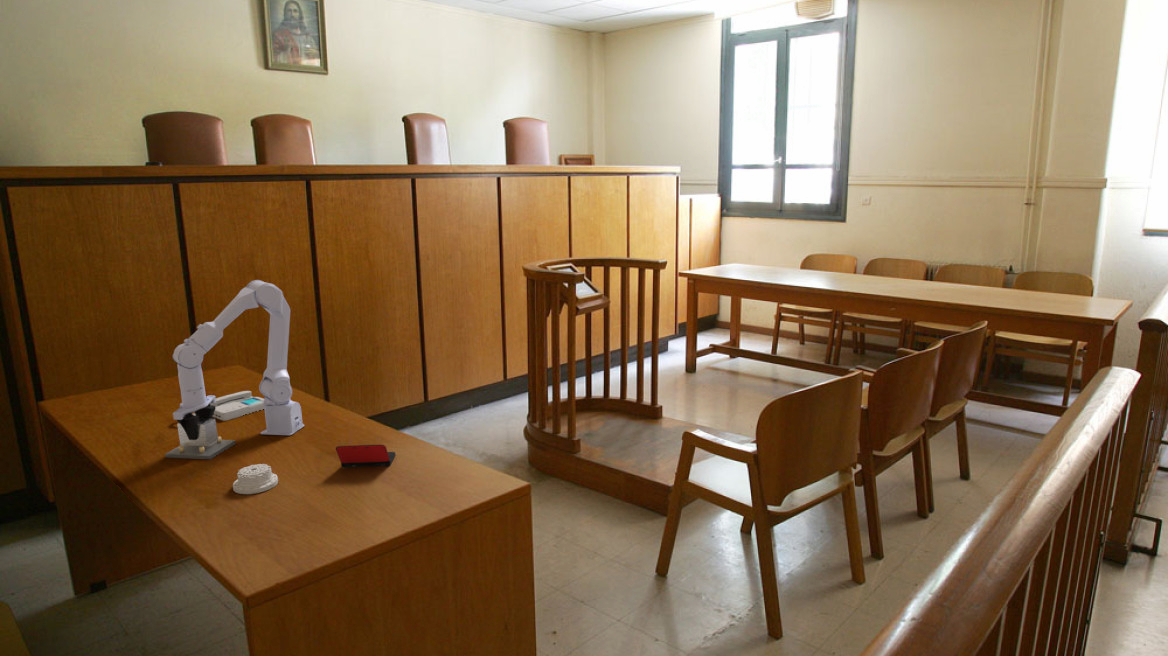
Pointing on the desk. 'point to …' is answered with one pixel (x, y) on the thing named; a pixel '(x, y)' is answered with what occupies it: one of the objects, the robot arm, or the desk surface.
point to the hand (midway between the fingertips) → (199, 435)
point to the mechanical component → (255, 479)
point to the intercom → (236, 405)
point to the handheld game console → (364, 455)
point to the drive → (200, 433)
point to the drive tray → (201, 450)
